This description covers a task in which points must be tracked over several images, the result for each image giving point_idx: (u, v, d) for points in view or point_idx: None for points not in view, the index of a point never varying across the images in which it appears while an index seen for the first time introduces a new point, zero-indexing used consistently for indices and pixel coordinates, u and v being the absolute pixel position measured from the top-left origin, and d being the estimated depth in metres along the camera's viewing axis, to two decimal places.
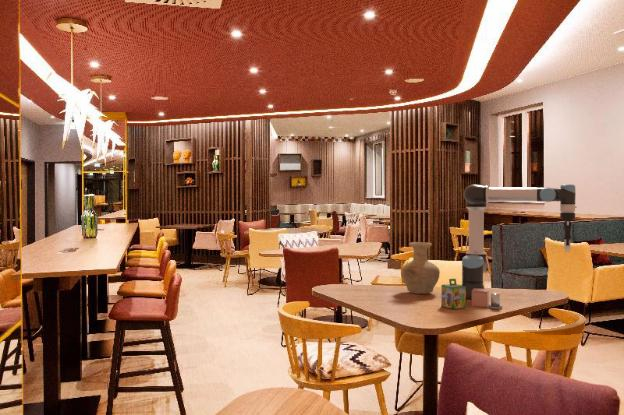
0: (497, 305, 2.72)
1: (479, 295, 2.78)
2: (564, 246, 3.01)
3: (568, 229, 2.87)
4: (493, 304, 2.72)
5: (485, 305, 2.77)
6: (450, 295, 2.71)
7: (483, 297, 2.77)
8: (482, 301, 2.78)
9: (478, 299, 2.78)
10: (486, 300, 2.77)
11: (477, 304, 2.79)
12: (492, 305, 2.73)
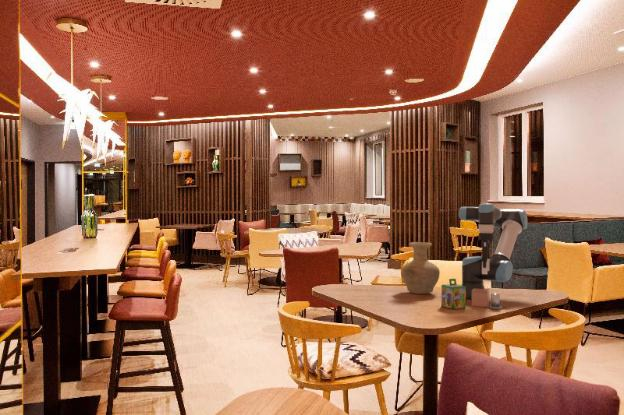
0: (497, 305, 2.72)
1: (479, 295, 2.78)
2: None
3: (485, 251, 2.74)
4: (493, 304, 2.72)
5: (485, 305, 2.77)
6: (450, 295, 2.71)
7: (483, 297, 2.77)
8: (482, 301, 2.78)
9: (478, 299, 2.78)
10: (486, 300, 2.77)
11: (477, 304, 2.79)
12: (492, 305, 2.73)
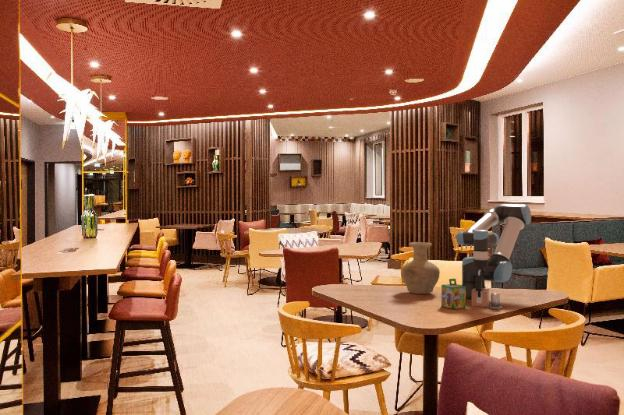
0: (497, 305, 2.72)
1: None
2: None
3: (479, 280, 2.75)
4: (493, 304, 2.72)
5: (485, 305, 2.77)
6: (450, 295, 2.71)
7: (483, 297, 2.77)
8: (482, 301, 2.78)
9: None
10: (486, 300, 2.77)
11: (477, 304, 2.79)
12: (492, 305, 2.73)
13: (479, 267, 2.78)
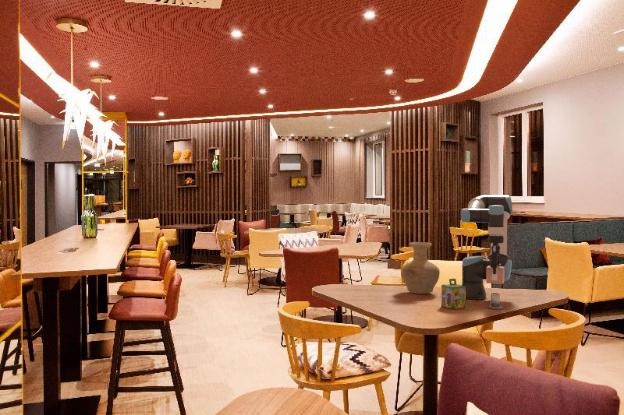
0: (497, 305, 2.72)
1: None
2: None
3: (494, 256, 2.67)
4: (493, 304, 2.72)
5: (500, 282, 2.69)
6: (450, 295, 2.71)
7: (498, 274, 2.69)
8: (497, 278, 2.69)
9: None
10: (501, 277, 2.68)
11: (492, 281, 2.70)
12: (492, 305, 2.73)
13: (494, 243, 2.70)
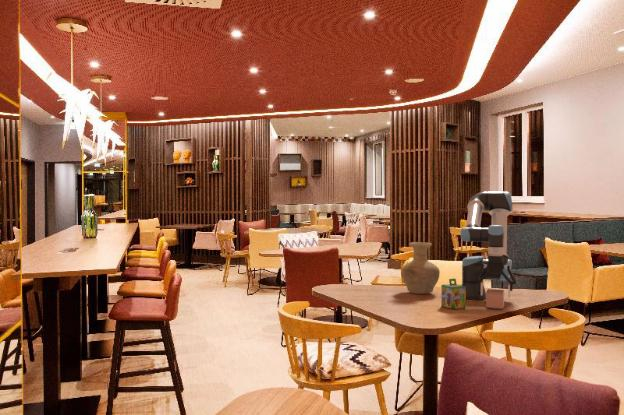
0: None
1: None
2: None
3: (479, 272, 2.77)
4: None
5: (486, 305, 2.73)
6: (450, 295, 2.71)
7: None
8: None
9: None
10: (486, 300, 2.72)
11: None
12: None
13: None
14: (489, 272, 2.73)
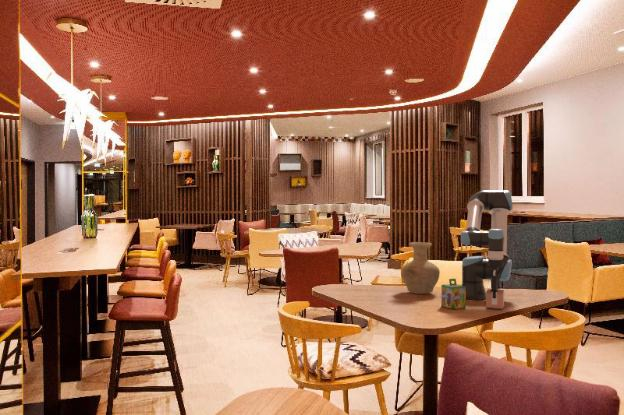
0: None
1: None
2: None
3: (494, 281, 2.67)
4: None
5: (486, 305, 2.73)
6: (450, 295, 2.71)
7: None
8: None
9: None
10: (486, 300, 2.72)
11: None
12: None
13: (494, 267, 2.70)
14: (498, 277, 2.71)
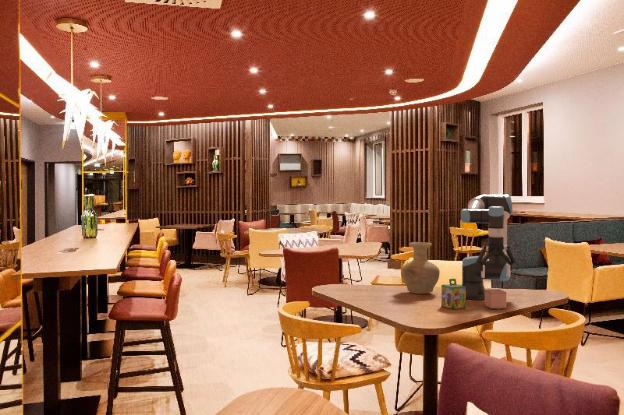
0: None
1: None
2: (506, 273, 2.76)
3: (480, 254, 2.73)
4: None
5: None
6: (450, 295, 2.71)
7: None
8: None
9: None
10: None
11: None
12: None
13: None
14: (491, 254, 2.72)
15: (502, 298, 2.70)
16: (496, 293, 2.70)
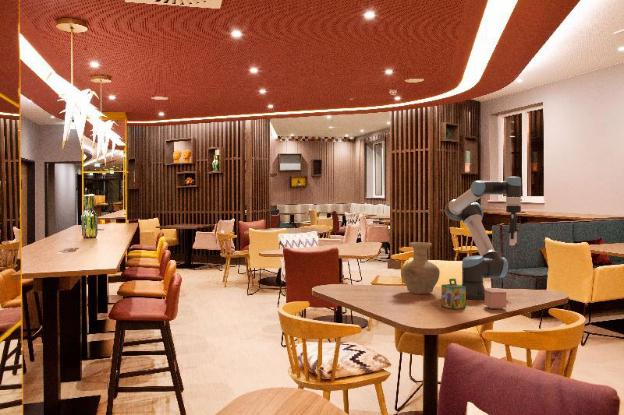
0: None
1: None
2: None
3: (512, 222, 2.81)
4: None
5: None
6: (450, 295, 2.71)
7: None
8: None
9: None
10: None
11: None
12: None
13: None
14: (516, 221, 2.85)
15: (502, 298, 2.70)
16: (496, 293, 2.70)
